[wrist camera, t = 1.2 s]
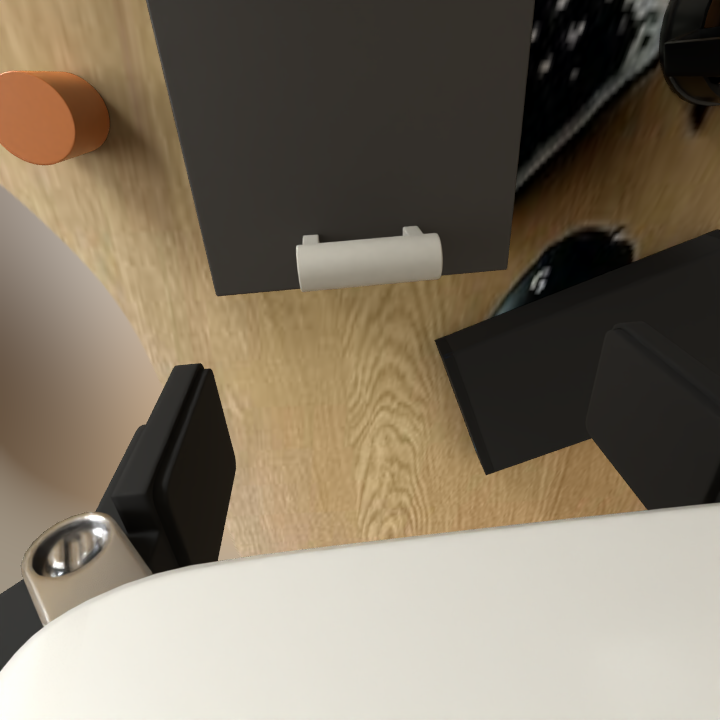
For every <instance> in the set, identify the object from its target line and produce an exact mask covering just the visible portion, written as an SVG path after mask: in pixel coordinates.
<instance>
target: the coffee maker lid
mask: <svg viewBox="0 0 720 720" xmlns="http://www.w3.org/2000/svg"><path fill="white" fill-rule="evenodd" d="M146 2H147V6H148V11H149V15H150V19H151V23H152V27H153V32H154V36H155V40H156V44H157V48H158V53H159V57H160V61H161V65H162V69H163V74H164V78H165V82H166V86H167V90H168V95H169V99H170V103H171V107H172V111H173V116H174V120H175V124H176V128H177V132H178V137H179V141H180V145H181V149H182V153H183V158H184V162H185V166H186V170H187V174H188V179H189V183H190V187H191V191H192V195H193V200H194V204H195V208H196V212H197V216H198V221H199V225H200V229H201V233H202V237H203V242H204V246H205V250H206V254H207V258H208V263H209V267H210V271H211V275H212V279H213V284H214V288H215V292H216V295H217V296H226V295H237V294H247V293H258V292H269V291H280V290H291V289H301V291H302V292H306V291H317V290H328V289H339V288H349V287H360V286H371V285H382V284H392V283H403V282H414V281H425V280H435V279H439V278H440V277H441V275H452V274H463V273H474V272H485V271H495V270H506V269H507V265H508V255H509V245H510V236H511V226H512V216H513V207H514V197H515V188H516V178H517V168H518V159H519V149H520V140H521V130H522V120H523V111H524V101H525V92H526V82H527V72H528V63H529V53H530V44H531V34H532V24H533V15H534V5H535V0H146Z"/></svg>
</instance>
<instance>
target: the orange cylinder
mask: <svg viewBox="0 0 720 720" xmlns="http://www.w3.org/2000/svg"><path fill="white" fill-rule="evenodd" d="M109 127H110V121H109V114H108V111H107V108H106V105H105V103H104V101H103V99H102V98H101V96H100V95H99V93H98V92H97V91H96V90H95V89H94V88H93V87H92V86H91V85H90V84H89V83H88V82H86V81H85V80H84V79H82V78H80V77H78V76H76V75H74V74H71V73H67V72H50V71H8V72H4V73H1V74H0V143H1V145H2V146H3V147H5V148H6V149H7V150H8V151H9V152H10V153H12V154H13V155H15V156H16V157H18V158H20V159H22V160H24V161H27V162H29V163H33V164H37V165H52V164H56V163H59V162H62V161H65V160H67V159H70V158H73V157H76V156H79V155H82V154H85V153H88V152H91V151H93V150H96V149H97V148H99V147H100V146H101V145H102V144H103V143H104V141H105V140H106V138H107V136H108V133H109Z"/></svg>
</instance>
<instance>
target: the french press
mask: <svg viewBox="0 0 720 720" xmlns="http://www.w3.org/2000/svg"><path fill="white" fill-rule="evenodd" d="M711 2H712V0H670V2H669V5H668V7H667V10H666V13H665V15H664V19H663V24H662V28H661V33H660V45H659V55H660V63H661V68H662V71H663V74H664V78H665V80H666V82H667V83H668V85H669V86H670V88H671V90H672V91H673V92H674V93H676V94H677V95H678V96H679V97H680V98H681V99H683V100H685V101H687V102H689V103H691V104H696V105H702V106H716V105H720V84H714V83H711V82H710V80H709V78H708V77H720V27H713V28H704V25H705V21H706V17H707V13H708V10H709V7H710V5H711ZM703 28H704V29H703Z"/></svg>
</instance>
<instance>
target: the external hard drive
mask: <svg viewBox="0 0 720 720" xmlns="http://www.w3.org/2000/svg"><path fill="white" fill-rule="evenodd" d="M638 321H643V322H645V323H647V324H648V325H650V326H651V327H652V328H654V329H655V330H656V331H658V332H659V333H661V334H662V335H663V336H665V337H666V338H667V339H669V340H670V341H672V342H673V343H674V344H676V345H677V346H678V347H680V348H681V349H682V350H684V351H685V352H687V353H688V354H689V355H691V356H692V357H693V358H695V359H696V360H698V361H699V362H700V363H702V364H703V365H704V366H706V367H707V368H709V369H710V370H711V371H713V372H714V373H715V374H717V375H718V376H720V230H715V231H712V232H710V233H707V234H705V235H702V236H700V237H697V238H695V239H692V240H689V241H687V242H684V243H682V244H679V245H677V246H674V247H672V248H669V249H667V250H664V251H661V252H659V253H656V254H654V255H651V256H649V257H646V258H644V259H641V260H639V261H636V262H633V263H631V264H628V265H626V266H623V267H621V268H618V269H616V270H613V271H611V272H608V273H605V274H603V275H600V276H598V277H595V278H593V279H590V280H588V281H585V282H582V283H580V284H577V285H575V286H572V287H570V288H567V289H565V290H562V291H560V292H557V293H554V294H552V295H549V296H547V297H544V298H542V299H539V300H537V301H534V302H532V303H529V304H526V305H524V306H521V307H519V308H516V309H514V310H511V311H509V312H506V313H504V314H501V315H498V316H496V317H493V318H491V319H488V320H486V321H483V322H481V323H478V324H476V325H473V326H470V327H468V328H465V329H463V330H460V331H458V332H455V333H453V334H450V335H448V336H445V337H442V338H440V339H437V340H435V342H436V345H437V348H438V350H439V353H440V356H441V358H442V361H443V364H444V367H445V369H446V372H447V375H448V377H449V380H450V383H451V386H452V388H453V391H454V394H455V396H456V399H457V402H458V404H459V407H460V410H461V413H462V415H463V418H464V421H465V423H466V426H467V429H468V432H469V435H470V437H471V440H472V442H473V445H474V448H475V451H476V453H477V456H478V458H479V460H480V463H481V465H482V467H483V469H484V472H485V474H486V475H488V474H491V473H494V472H497V471H499V470H502V469H505V468H508V467H511V466H514V465H517V464H519V463H522V462H525V461H528V460H531V459H534V458H537V457H539V456H542V455H545V454H548V453H551V452H554V451H557V450H559V449H562V448H565V447H568V446H571V445H574V444H577V443H579V442H582V441H585V440H588V439H591V437H590V435H589V434H588V432H587V429H586V424H585V421H586V415H587V411H588V407H589V402H590V398H591V394H592V389H593V385H594V381H595V376H596V372H597V368H598V363H599V359H600V355H601V350H602V346H603V342H604V337H605V334H606V333H607V331H609V330H612V328H613V326H614V325H616V324H617V323H627V322H638Z"/></svg>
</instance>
